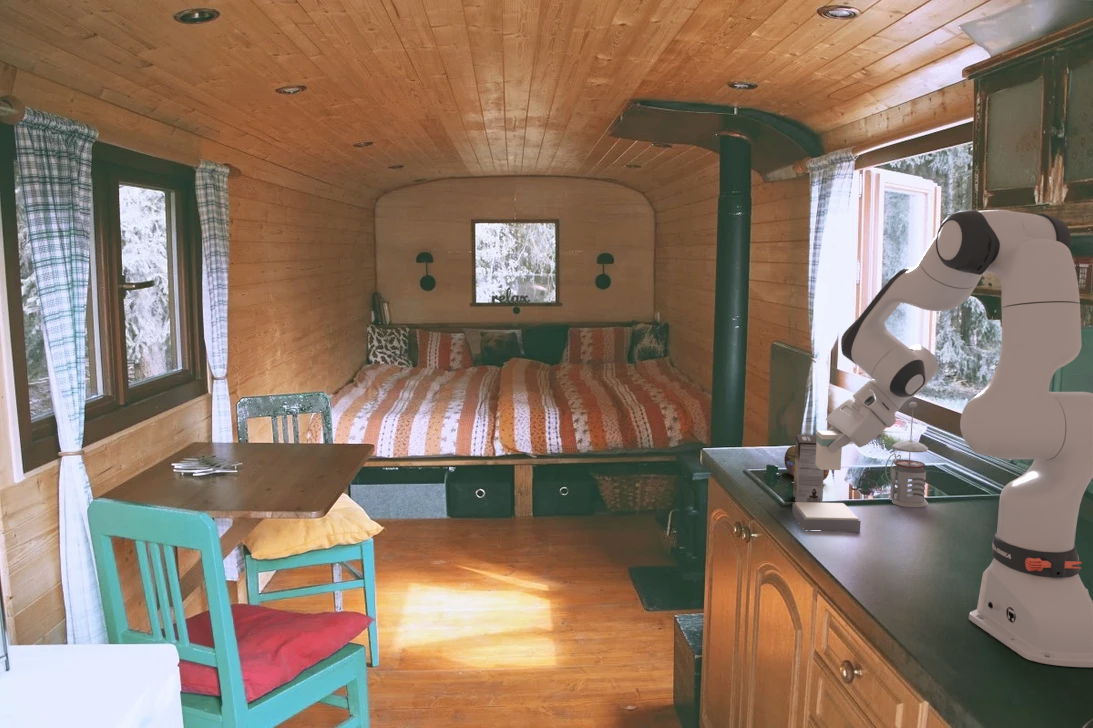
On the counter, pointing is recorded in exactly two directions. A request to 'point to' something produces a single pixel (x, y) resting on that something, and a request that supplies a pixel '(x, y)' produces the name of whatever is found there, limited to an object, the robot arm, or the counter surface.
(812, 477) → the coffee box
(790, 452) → the tin
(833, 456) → the carton
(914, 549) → the counter surface
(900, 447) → the french press
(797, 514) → the podium
